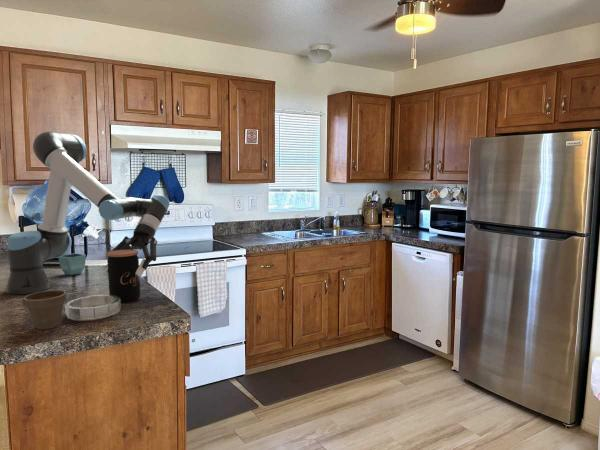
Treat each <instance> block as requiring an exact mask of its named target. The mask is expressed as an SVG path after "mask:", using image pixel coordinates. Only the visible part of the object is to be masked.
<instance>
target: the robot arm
mask: <svg viewBox="0 0 600 450" xmlns="http://www.w3.org/2000/svg"><path fill="white" fill-rule="evenodd" d="M32 150H33V154H34V155H35V157H36V158H37V159H38V160H39V161H40V162H41V164H42V165H44V166H45V167H47V168H48V169H50V171H49V177H48V185H47V191H46V195H45V203H44V210H43V217H42V222H41V223H40V224H38V225H37V230H26V231H20V232H15V233H13V234H11V235H9V236H8V238H7V246H6V247H7V253H8V263H9V275H8V279H7V284H6V286H5V289H6V294H8V295H29V294H33V293H37V292H42V291H47V290H49V289H50V287H51V286H50V281H49V279H48V277H47V274H46V273H45V270H44V262H43V261H46V260H52V259H56V258H58V257H60V256H62V255H67V253H68V252H69V251H70V250H71V247H72V244H73V243H72V242H73V241H72V237H71V234H70V233H69V229H68V227H67V226H66V220H67V219H66V218H67V215H68V207H69V202H70V195H71V188H72V186H73V187H74V188H75V189H76V190H78V192H79V193H81V194H82V195H83V196H84V197H86V199H88V201H90V202H91V203H92V204H94V206H96V207H97V208H98V212H99V215H100V217H101V218H102V219H104V220H107V221H115V220H119V219H125V218H132V217H133V218H134V217H137V218H138V217H139V218H140V219H139V221H138V223H137V225H136V227H135V228H134V230H133V235H132V237H128V236H127V235H126V236H124V238H123V239H122V240H121V241H120V242H119V243H118V244H117V245H116V246H115V247H114V248H113V249H112V250H111V251H116V250H138V251H139V250H142V252H143V255H144V258H142V259H141V262H139V267H138V269H137V271H136V273H135V274H136V275H137V276H138V277H139V278H142V277H143V274H144V273H145V271H146V269H147V268H148V267H149V266H150V265H149V264H150V263H152V262H156V261H157V245H158V240H157V239H156V238H155V235H156V232H157V230H158V229H159V227H160V225H161V223H162V221H163V219H164V217H165V215H166V214H167V212H168V210H169V208H170V201H169V199H168V198H167V197H166V196H164V195H162V194H159V193H158V194H154V195H152V197H151V198H149V199H148V198H147V199H146V198H139V197H132V196H122V197H121V198H118V197H117V196H116V195H115V194H114V193H113V192H111V191H110V189H108V188H107V187H106V186H104V185H103V184H102V183H100V181H98V179H96V178H95V177H94V176H93V175H92V174H91V173H89V172H88V171H87V170H86V169H84V167H82V166H81V165H80V164H79V163H80V162H82V161H83V160H85V158H86V157H87V151H88V150H87V146H86V144H85V142H84V140H83V139H82V138H81V137H80V136H79V135H76V134H72V133H66V132H56V131H55V132H54V131H44V132H41V133H39V134H38V135H36V137H35V138H34V140H33V143H32ZM148 245H149V248H148ZM104 272H105V274H107V275H108V265H107V267H106V268H105V270H104Z"/></svg>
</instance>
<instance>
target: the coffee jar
mask: <svg viewBox="0 0 600 450" xmlns="http://www.w3.org/2000/svg"><path fill="white" fill-rule="evenodd" d="M106 254H107V257H108V258H107V266H108V274H107V276H108V279H107V280H108V292H109V294H108V295H114V296H117V297H119V298H120V300H121V305H123V304H129V303H130V304H131V303H133V302H137V301H138V300H139V299H141V298H140V297H141V279H140V278H139V277H138V276H137V275H136V274H135V273H136V271H137V269H138V267H139V265H140V260H139V256H138V254H139V250H138V249H134V250H116V251H112V250H110V251H108V252H107V253H106Z"/></svg>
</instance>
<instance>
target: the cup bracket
mask: <svg viewBox="0 0 600 450" xmlns="http://www.w3.org/2000/svg"><path fill="white" fill-rule="evenodd" d="M121 308H122V304H121V300H120V298H119V297H117V296H114V295H109V294H95V295H94V294H93V295H88V296H82V297H77V298H75V299H70V300H69V301H68V302H65V303H64V309H65V316H66V318H67V319H68V320H69V321H75V322H76V321H77V322H79V321H80V322H89V321H94V320H95V321H97V320H102V319H106V318H109V317H113V316H115V315H118V314H119V313H120V312H121Z"/></svg>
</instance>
